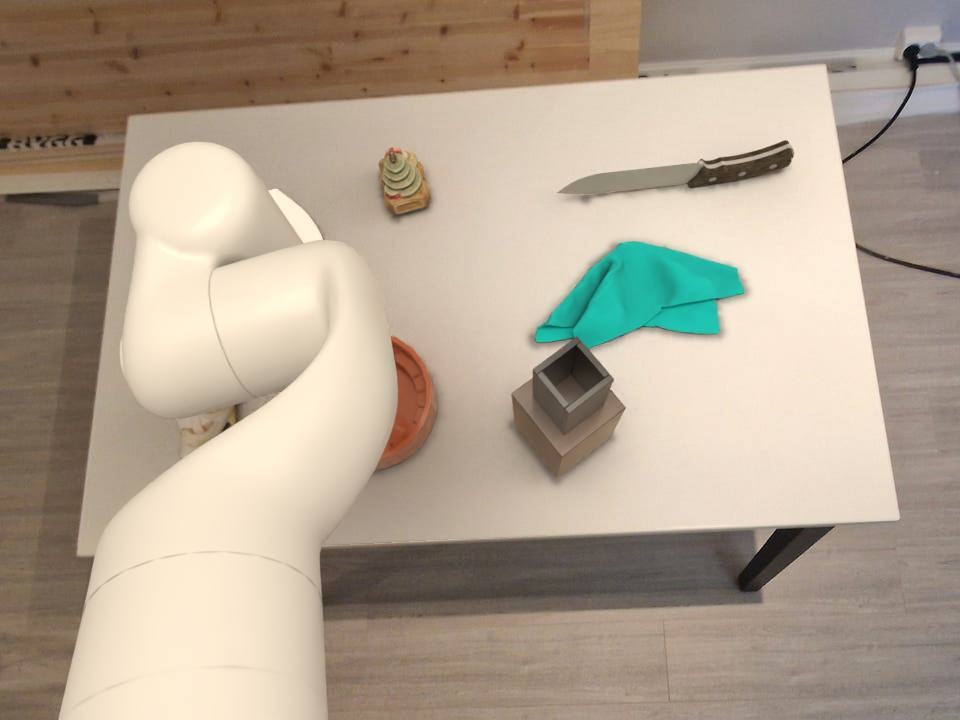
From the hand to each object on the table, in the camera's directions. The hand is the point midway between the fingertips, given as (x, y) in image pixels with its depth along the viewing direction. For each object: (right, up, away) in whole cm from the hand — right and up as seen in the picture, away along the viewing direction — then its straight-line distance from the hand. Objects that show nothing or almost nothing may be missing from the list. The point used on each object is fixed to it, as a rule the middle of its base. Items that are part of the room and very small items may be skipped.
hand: (333, 358), depth 68 cm
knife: (+39, +23, +24) cm, 51 cm away
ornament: (+4, +22, +27) cm, 35 cm away
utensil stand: (+24, -8, +15) cm, 29 cm away
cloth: (+33, +8, +20) cm, 40 cm away
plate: (-15, +12, +25) cm, 31 cm away
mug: (-18, -8, +18) cm, 27 cm away
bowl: (+1, -6, +18) cm, 19 cm away
